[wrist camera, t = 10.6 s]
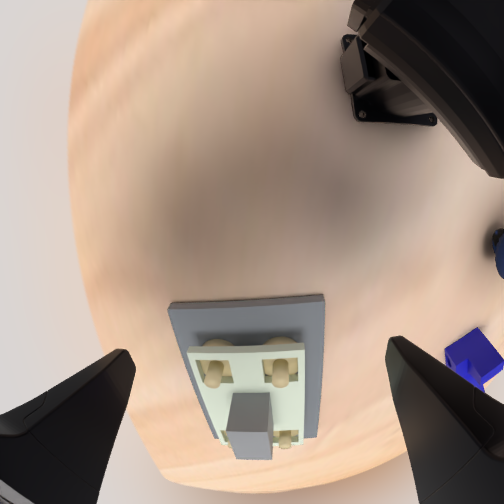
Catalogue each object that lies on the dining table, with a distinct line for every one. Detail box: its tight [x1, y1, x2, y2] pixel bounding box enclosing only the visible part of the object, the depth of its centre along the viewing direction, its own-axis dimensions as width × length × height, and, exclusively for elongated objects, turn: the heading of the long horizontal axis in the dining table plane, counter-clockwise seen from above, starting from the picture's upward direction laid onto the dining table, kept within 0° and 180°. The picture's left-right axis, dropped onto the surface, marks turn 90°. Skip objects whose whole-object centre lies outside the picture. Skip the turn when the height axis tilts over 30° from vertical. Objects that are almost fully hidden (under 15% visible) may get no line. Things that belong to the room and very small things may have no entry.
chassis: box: [167, 295, 325, 449], centre depth 22 cm, size 12×19×4 cm, turn 7°
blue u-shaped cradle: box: [445, 327, 504, 392], centre depth 20 cm, size 12×4×6 cm, turn 30°
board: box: [187, 343, 305, 460], centre depth 20 cm, size 9×14×5 cm, turn 7°
